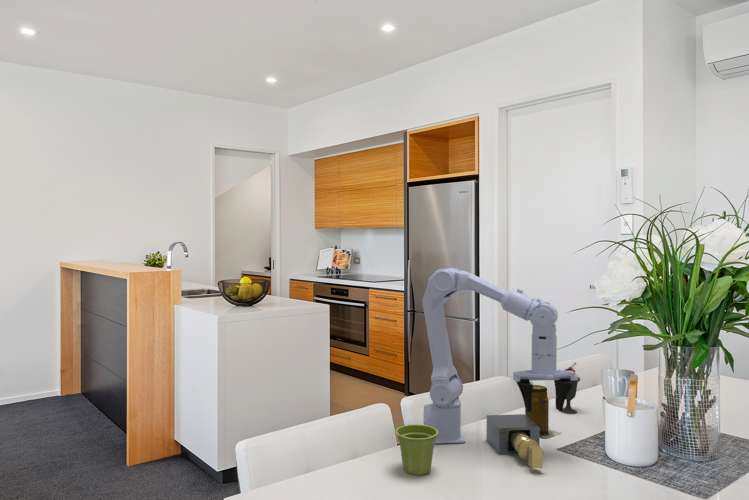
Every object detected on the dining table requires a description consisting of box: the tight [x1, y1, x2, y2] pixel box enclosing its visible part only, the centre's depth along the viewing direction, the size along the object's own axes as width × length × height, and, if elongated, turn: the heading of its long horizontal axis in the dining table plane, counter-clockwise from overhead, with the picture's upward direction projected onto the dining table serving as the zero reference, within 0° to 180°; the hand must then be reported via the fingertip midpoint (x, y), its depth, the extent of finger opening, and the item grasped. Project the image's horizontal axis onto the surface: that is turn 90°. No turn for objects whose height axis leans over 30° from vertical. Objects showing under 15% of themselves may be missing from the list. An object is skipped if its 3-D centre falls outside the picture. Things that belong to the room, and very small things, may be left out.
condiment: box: [524, 384, 561, 439], centre depth 146 cm, size 7×8×12 cm
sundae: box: [560, 362, 581, 415], centre depth 165 cm, size 7×7×15 cm
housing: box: [486, 413, 541, 456], centre depth 135 cm, size 10×10×6 cm
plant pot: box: [395, 424, 438, 476], centre depth 121 cm, size 9×9×9 cm
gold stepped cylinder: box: [508, 430, 544, 469], centre depth 126 cm, size 5×13×5 cm, turn 5°
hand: (543, 410), depth 131 cm, fingers open, 7 cm apart
